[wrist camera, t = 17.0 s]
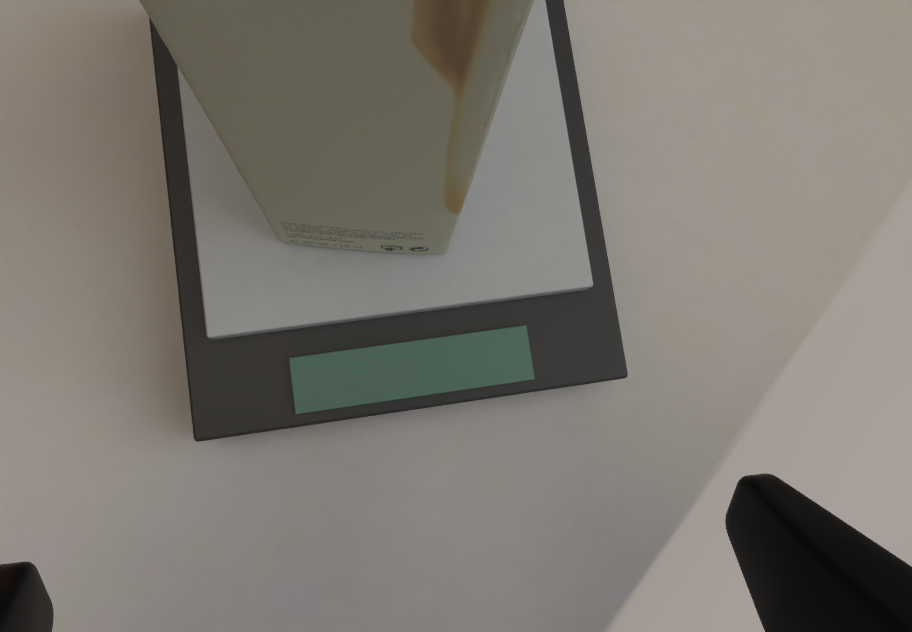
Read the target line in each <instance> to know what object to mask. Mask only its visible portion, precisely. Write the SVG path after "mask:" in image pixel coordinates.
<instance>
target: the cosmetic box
mask: <svg viewBox="0 0 912 632" xmlns="http://www.w3.org/2000/svg"><path fill="white" fill-rule="evenodd" d="M140 2H141V3H142V5H143V7H144V9H145V10H146V12H147V14H148V15H149V17H150V19H151V20H152V22H153V24H154V26H155V28H156V29H157V31H158V33H159V35H160V37H161V39H162V40H163V42H164V43H165V45H166V47H167V48H168V50H169V52H170V54H171V56H172V58H173V59H174V61H175V63H176V65H177V66H178V68H179V69H180V71H181V73H182V75H183V76H184V78H185V80H186V82H187V83H188V85H189V87H190V88H191V90H192V91H193V93H194V95H195V97H196V99H197V100H198V102H199V104H200V105H201V107H202V109H203V111H204V112H205V114H206V116H207V117H208V119H209V121H210V122H211V124H212V126H213V127H214V129H215V131H216V133H217V134H218V136H219V138H220V140H221V142H222V143H223V145H224V147H225V148H226V150H227V152H228V154H229V155H230V157H231V159H232V161H233V162H234V164H235V166H236V168H237V170H238V171H239V173H240V175H241V177H242V178H243V180H244V181H245V183H246V185H247V186H248V188H249V190H250V192H251V194H252V195H253V197H254V199H255V200H256V202H257V204H258V206H259V208H260V209H261V211H262V212H263V214H264V216H265V218H266V220H267V222H268V224H269V225H270V227H271V228H272V230H273V232H274V234H275V236H276V237H277V239H278V240H279V241H281V242H283V243H290V244H299V245H309V246H318V247H328V248H340V249H349V250H361V251H373V252H389V253H411V254H444V253H446V252H447V251H448V250H449V247H450V244H451V241H452V238H453V235H454V232H455V229H456V226H457V223H458V220H459V217H460V214H461V211H462V207H463V204H464V201H465V198H466V196H467V193H468V191H469V188H470V185H471V182H472V180H473V177H474V174H475V170H476V168H477V165H478V162H479V159H480V156H481V153H482V149H483V146H484V143H485V140H486V137H487V135H488V132H489V129H490V126H491V123H492V120H493V118H494V115H495V112H496V109H497V106H498V103H499V100H500V97H501V94H502V91H503V88H504V85H505V82H506V79H507V76H508V73H509V70H510V67H511V64H512V61H513V58H514V55H515V53H516V50H517V47H518V44H519V42H520V39H521V36H522V34H523V31H524V28H525V25H526V22H527V19H528V16H529V14H530V11H531V8H532V5H533V2H534V0H140Z"/></svg>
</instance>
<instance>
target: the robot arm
mask: <svg viewBox="0 0 912 632" xmlns="http://www.w3.org/2000/svg"><path fill="white" fill-rule="evenodd" d="M725 522H726V529H727V533H728V536H729V539H730V541H731V544H732V547H733V549H734V552H735V555H736V557H737V560H738V563H739V565H740V567H741V570H742V573H743V576H744V578H745V581H746V584H747V586H748V589H749V591H750V594H751V597H752V599H753V602H754V605H755V607H756V610H757V613H758V615H759V618H760V620H761V623H762V625H763V628H764V630H765V632H912V567H911V566H910V565H908V564H907V563H905V562H904V561H902V560H901V559H899V558H898V557H896V556H895V555H893V554H892V553H890V552H889V551H887V550H886V549H884V548H883V547H881V546H880V545H878V544H877V543H875V542H873V541H872V540H871V539H869V538H867V537H866V536H865V535H863V534H862V533H860V532H859V531H857V530H856V529H854V528H853V527H851V526H850V525H848V524H847V523H845V522H844V521H842V520H841V519H839V518H838V517H836V516H835V515H833V514H832V513H830V512H829V511H827V510H826V509H824V508H823V507H821V506H820V505H818V504H817V503H815V502H814V501H812V500H810V499H809V498H808V497H806V496H805V495H803V494H802V493H800V492H799V491H797V490H795V489H794V488H793V487H791V486H790V485H788V484H787V483H785V482H784V481H782V480H781V479H779V478H777V477H776V476H774V475H771V474H758V475H750V476H744V477H743V478H741V479H740V480H739V482H738V484H737V486H736V489H735V492H734V495H733V497H732V500H731V503H730V505H729V508H728V511H727V514H726V521H725ZM52 627H53V606H52V602H51V600H50V597H49V595H48V593H47V591H46V588H45V586H44V584H43V581H42V579H41V577H40V575H39V572H38V570H37V568H36V567H35V565H34V564H32V563H31V562H18V563H10V564H1V565H0V632H52Z"/></svg>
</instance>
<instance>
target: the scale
mask: <svg viewBox="0 0 912 632" xmlns="http://www.w3.org/2000/svg"><path fill="white" fill-rule="evenodd" d="M149 19H150V17H149ZM150 29H151V38H152V48H153V57H154V67H155V76H156V85H157V95H158V104H159V114H160V123H161V132H162V142H163V151H164V161H165V170H166V180H167V189H168V198H169V208H170V217H171V227H172V236H173V245H174V255H175V264H176V274H177V283H178V292H179V302H180V311H181V321H182V330H183V340H184V349H185V358H186V368H187V377H188V387H189V396H190V405H191V415H192V424H193V434H194V439H195V441H205V440H212V439H219V438H225V437H232V436H239V435H246V434H252V433H259V432H266V431H272V430H279V429H286V428H293V427H299V426H306V425H313V424H320V423H326V422H333V421H340V420H346V419H353V418H360V417H367V416H373V415H380V414H387V413H394V412H400V411H407V410H414V409H421V408H427V407H434V406H441V405H447V404H454V403H461V402H468V401H474V400H481V399H488V398H495V397H501V396H508V395H515V394H521V393H528V392H535V391H542V390H548V389H555V388H562V387H569V386H575V385H582V384H589V383H595V382H602V381H609V380H616V379H622V378H626V377H627V375H628V374H627V368H626V362H625V356H624V351H623V345H622V339H621V333H620V327H619V321H618V316H617V310H616V304H615V298H614V292H613V286H612V281H611V275H610V269H609V263H608V257H607V252H606V246H605V240H604V234H603V228H602V222H601V217H600V211H599V205H598V199H597V193H596V188H595V182H594V176H593V170H592V164H591V158H590V153H589V147H588V141H587V135H586V129H585V124H584V118H583V112H582V106H581V100H580V94H579V89H578V83H577V77H576V71H575V65H574V60H573V54H572V48H571V42H570V36H569V30H568V25H567V19H566V13H565V7H564V1H563V0H534V2H533V5H532V8H531V11H530V14H529V16H528V19H527V22H526V25H525V28H524V31H523V34H522V36H521V39H520V42H519V44H518V47H517V50H516V53H515V55H514V58H513V61H512V64H511V67H510V70H509V73H508V76H507V79H506V82H505V85H504V88H503V91H502V94H501V97H500V100H499V103H498V106H497V109H496V112H495V115H494V118H493V120H492V123H491V126H490V129H489V132H488V135H487V137H486V140H485V143H484V146H483V149H482V153H481V156H480V159H479V162H478V165H477V168H476V170H475V174H474V177H473V180H472V182H471V185H470V188H469V191H468V193H467V196H466V198H465V201H464V204H463V207H462V211H461V214H460V217H459V220H458V223H457V226H456V229H455V232H454V235H453V238H452V241H451V244H450V247H449V250H448V251H447V252H446V253H444V254H411V253H389V252H373V251H361V250H349V249H340V248H328V247H318V246H309V245H299V244H290V243H283V242H281V241H279V240H278V239H277V237H276V236H275V234H274V232H273V230H272V228H271V227H270V225H269V224H268V222H267V220H266V218H265V216H264V214H263V212H262V211H261V209H260V208H259V206H258V204H257V202H256V200H255V199H254V197H253V195H252V194H251V192H250V190H249V188H248V186H247V185H246V183H245V181H244V180H243V178H242V177H241V175H240V173H239V171H238V170H237V168H236V166H235V164H234V162H233V161H232V159H231V157H230V155H229V154H228V152H227V150H226V148H225V147H224V145H223V143H222V142H221V140H220V138H219V136H218V134H217V133H216V131H215V129H214V127H213V126H212V124H211V122H210V121H209V119H208V117H207V116H206V114H205V112H204V111H203V109H202V107H201V105H200V104H199V102H198V100H197V99H196V97H195V95H194V93H193V91H192V90H191V88H190V87H189V85H188V83H187V82H186V80H185V78H184V76H183V75H182V73H181V71H180V69H179V68H178V66H177V65H176V63H175V61H174V59H173V58H172V56H171V54H170V52H169V50H168V48H167V47H166V45H165V43H164V42H163V40H162V39H161V37H160V35H159V33H158V31H157V29H156V28H155V26H154V24H153V22H152V20H151V19H150Z"/></svg>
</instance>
